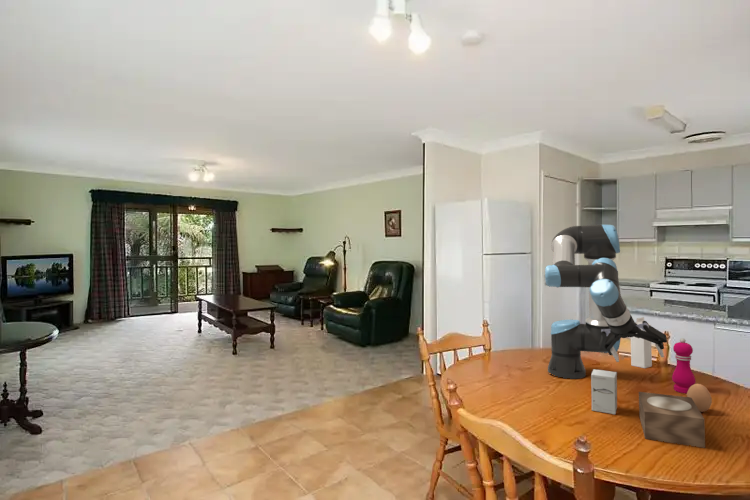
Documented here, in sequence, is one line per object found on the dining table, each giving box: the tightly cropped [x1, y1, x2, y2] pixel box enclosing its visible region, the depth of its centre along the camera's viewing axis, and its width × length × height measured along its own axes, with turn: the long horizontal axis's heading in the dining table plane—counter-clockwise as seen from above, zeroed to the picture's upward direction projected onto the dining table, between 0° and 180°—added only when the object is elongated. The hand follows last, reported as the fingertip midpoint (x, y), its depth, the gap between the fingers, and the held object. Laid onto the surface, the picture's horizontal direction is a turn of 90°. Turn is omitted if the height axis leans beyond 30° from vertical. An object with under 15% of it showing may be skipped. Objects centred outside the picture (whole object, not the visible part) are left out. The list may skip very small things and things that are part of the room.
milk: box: [630, 316, 653, 369], centre depth 194 cm, size 6×6×22 cm
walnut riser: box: [638, 391, 706, 449], centre depth 128 cm, size 14×18×8 cm
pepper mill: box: [671, 338, 697, 395], centre depth 161 cm, size 7×7×20 cm
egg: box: [686, 383, 713, 413], centre depth 142 cm, size 7×7×9 cm
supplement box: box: [590, 369, 618, 415], centre depth 146 cm, size 7×7×13 cm
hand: (639, 356), depth 147 cm, fingers open, 13 cm apart
